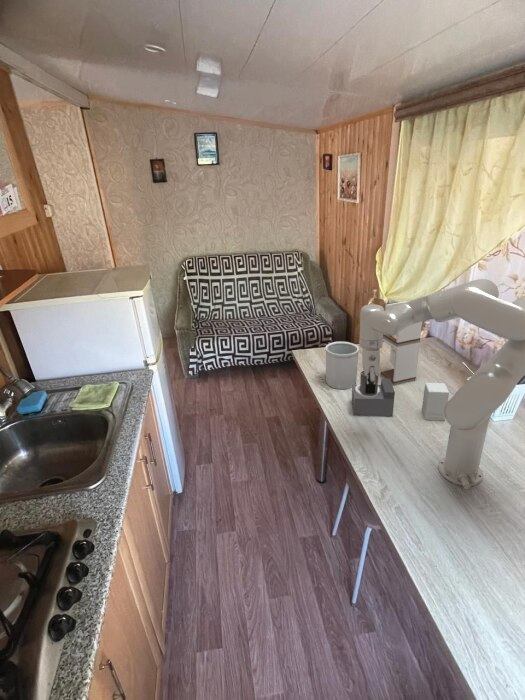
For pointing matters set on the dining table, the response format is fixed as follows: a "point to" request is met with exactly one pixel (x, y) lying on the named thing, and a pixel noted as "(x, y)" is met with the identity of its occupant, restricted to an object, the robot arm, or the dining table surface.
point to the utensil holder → (341, 364)
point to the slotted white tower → (403, 352)
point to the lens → (364, 380)
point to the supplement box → (435, 401)
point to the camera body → (374, 400)
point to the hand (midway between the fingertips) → (368, 387)
